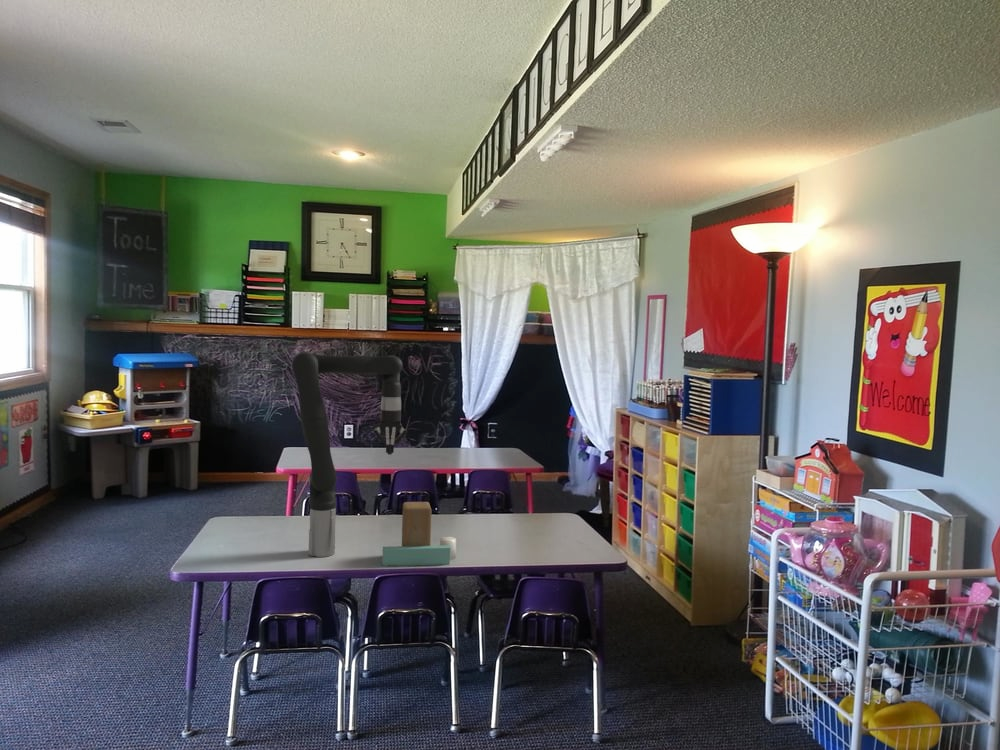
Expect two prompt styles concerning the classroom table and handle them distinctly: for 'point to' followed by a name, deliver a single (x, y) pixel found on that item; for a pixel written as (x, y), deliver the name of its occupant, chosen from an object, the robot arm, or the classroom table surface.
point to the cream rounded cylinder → (451, 542)
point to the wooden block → (416, 524)
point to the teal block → (416, 555)
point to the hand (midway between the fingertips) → (389, 454)
